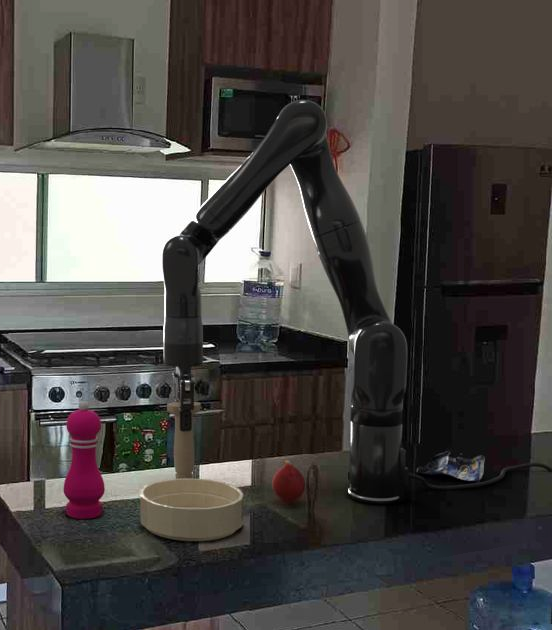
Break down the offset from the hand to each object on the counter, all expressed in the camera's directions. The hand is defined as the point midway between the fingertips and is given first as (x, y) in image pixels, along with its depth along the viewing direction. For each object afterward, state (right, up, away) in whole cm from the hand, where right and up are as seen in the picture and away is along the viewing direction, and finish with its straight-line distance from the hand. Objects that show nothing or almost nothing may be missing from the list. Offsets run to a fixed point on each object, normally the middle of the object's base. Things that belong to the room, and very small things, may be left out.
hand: (183, 427), depth 159 cm
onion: (+18, -13, -9) cm, 24 cm away
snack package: (+54, -11, +9) cm, 56 cm away
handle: (0, -11, +1) cm, 11 cm away
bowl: (0, -14, -20) cm, 24 cm away
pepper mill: (-18, -13, -14) cm, 27 cm away
